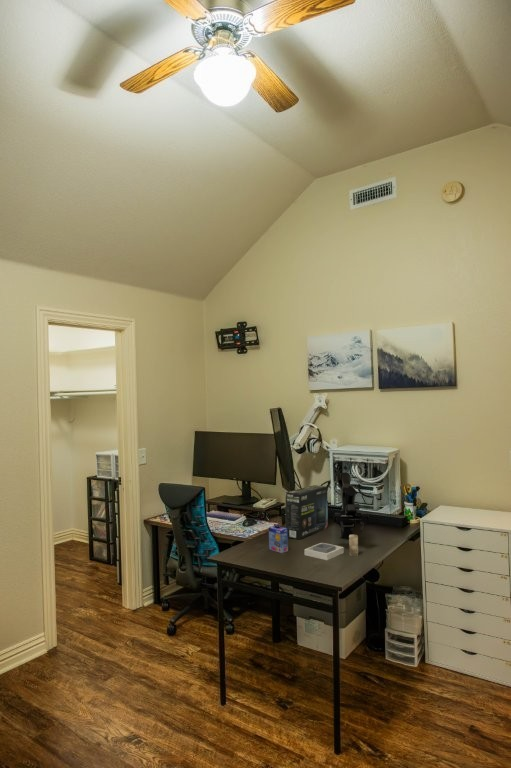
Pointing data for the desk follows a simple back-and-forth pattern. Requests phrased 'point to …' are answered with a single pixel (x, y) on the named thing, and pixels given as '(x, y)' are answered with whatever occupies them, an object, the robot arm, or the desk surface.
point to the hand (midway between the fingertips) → (352, 531)
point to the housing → (324, 551)
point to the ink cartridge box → (278, 539)
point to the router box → (306, 511)
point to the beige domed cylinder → (353, 545)
